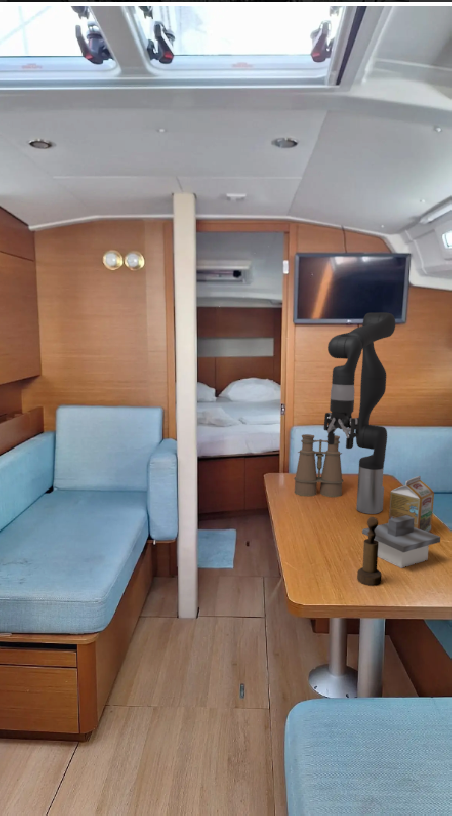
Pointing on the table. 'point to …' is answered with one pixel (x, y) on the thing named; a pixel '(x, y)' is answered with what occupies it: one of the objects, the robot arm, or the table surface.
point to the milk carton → (413, 503)
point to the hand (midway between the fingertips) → (339, 446)
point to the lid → (403, 534)
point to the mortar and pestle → (370, 557)
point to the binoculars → (330, 471)
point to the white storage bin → (402, 555)
